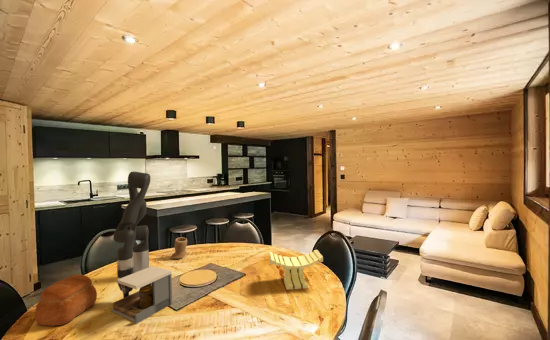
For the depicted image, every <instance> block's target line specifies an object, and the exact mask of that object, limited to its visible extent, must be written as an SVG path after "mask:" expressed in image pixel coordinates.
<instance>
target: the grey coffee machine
mask: <svg viewBox="0 0 550 340" xmlns="http://www.w3.org/2000/svg"><path fill="white" fill-rule="evenodd" d="M172 282H173V281H172V270H170V269H166V268H162V267H158V266H154V265H151V266H149V268H146V269H143V270H141V271H138V272H136V273H133V274H131V275H128V276H125V277H123V278H118V279H116V283H117V284H118V283H119V284H122V285H125V286H128V287H131V288H133V289H134V290H139V289H140V288H141V287H143V286H145V285H147V284H150V283H151V286H152V295H153V297H154V301H153V303H154V305H152V306H150V307H148V308H147V309H145V310H143V311H141V312H139V311H138V312H137V313H136V314H135V318H132V317H130V316H128V315H126V314H123V313H121V312H119V311H117V310H114V309H113V308H111V309H110V312H111V313H114V314H115V315H118V316H121V317H123V318H125V319H127V320H129V321H132V322H134V323H135V325H138V324H139V323H141V322H143V321H145V320H146V319H148V318H149V317H151V316H153V315H155V314H156V313H158V312H160V311H161V310H164V309H166V308H167V307H169V306H171V305H173V285H172Z"/></svg>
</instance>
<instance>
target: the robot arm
mask: <svg viewBox="0 0 550 340" xmlns="http://www.w3.org/2000/svg"><path fill="white" fill-rule="evenodd" d="M150 183H151V175H150V173H147V172H141V171H131V172H129V173H128V177H127V188H128V195H129V203H128V204H127V205H126V207H125V208H124V210H123V214H122V218H121V220H120V222H119V224H118V225H117V226H116V229H115V231H114V232H113V237H112V238H113V241H114V242H115V243H119V244H120V243H121V244H123V246H121V247H119V248H117V252H116V253H117V254H116V255H117V263H116V266H117V267H116V269H117V271H116V273H117V274H116V275H117V278H118V279H120V278H123V277H125V276H128V275H131V274H133V273H136V272H138V271H141V270H143V269H146V268H149V267H150V252H149V250H150V249H149V235H150V233H149V231H150V230H149V227H148V226H149V225H146V224H144V225H138V224H139V223H140V221H141V220H142V219H143V218H144V217H145V216H146V214H147V202H146V200H145V197H146V194H147V191H148V189H149V187H150ZM139 189H140V190H139ZM128 228H129V229H128ZM137 241H141V242H140V243H138V244H136V245H134V244H135V242H137ZM117 285H118V287H119V288H118V289H119V290H120V291H122V297H123V298H125V297H127V296H129V295H130V292H133V289H134V288H131V287H128V286H125V285H122V284H119V283H117Z"/></svg>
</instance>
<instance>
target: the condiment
mask: <svg viewBox="0 0 550 340" xmlns="http://www.w3.org/2000/svg"><path fill="white" fill-rule="evenodd" d="M138 291H139V299H140V304H139V305H137V306H135V307H133V308H132V309H134V310H136V311H137V312H138V313H139V312H141V311H143V310H145V309H147V308H148V307H150V306H152V305H154V301H153V296H152V284H151V283H150V284H147V285H145V286H143V287H141V288H139V289H138Z"/></svg>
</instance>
